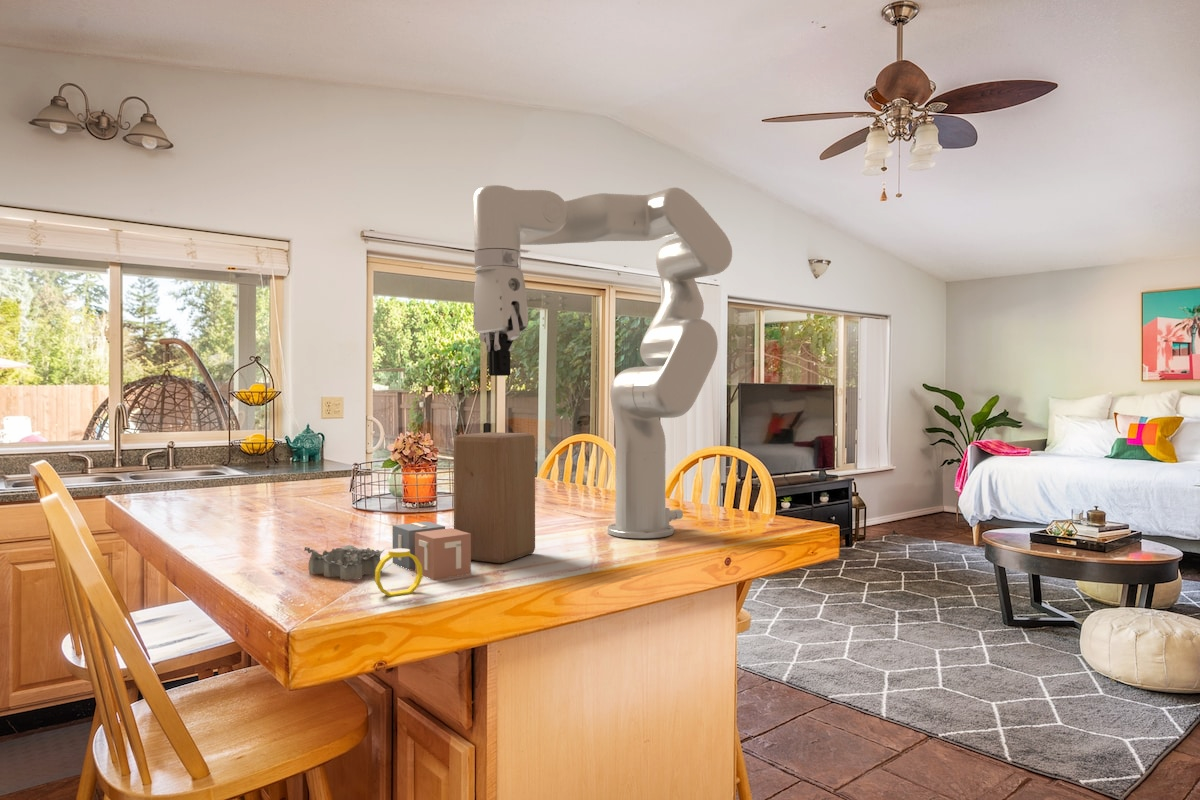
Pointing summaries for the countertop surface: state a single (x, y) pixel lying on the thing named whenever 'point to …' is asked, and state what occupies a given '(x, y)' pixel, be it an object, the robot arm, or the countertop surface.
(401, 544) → the slate cube one
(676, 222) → the robot arm
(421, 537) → the terracotta cube seven
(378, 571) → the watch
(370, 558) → the egg carton
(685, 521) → the countertop surface
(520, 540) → the wooden block
